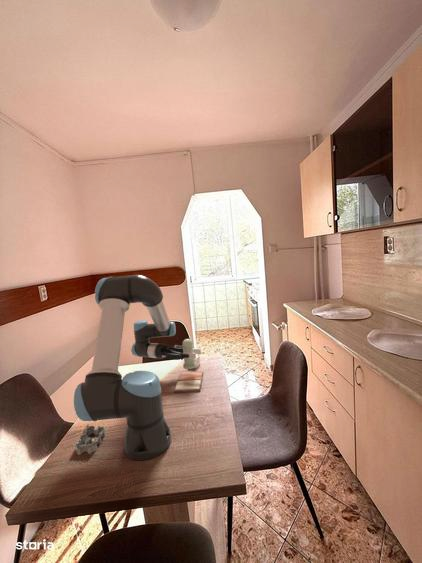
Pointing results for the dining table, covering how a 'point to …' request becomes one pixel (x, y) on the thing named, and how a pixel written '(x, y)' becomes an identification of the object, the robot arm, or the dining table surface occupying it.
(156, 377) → the robot arm
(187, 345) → the pawn
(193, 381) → the board
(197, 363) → the die
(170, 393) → the dining table surface
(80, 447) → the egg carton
